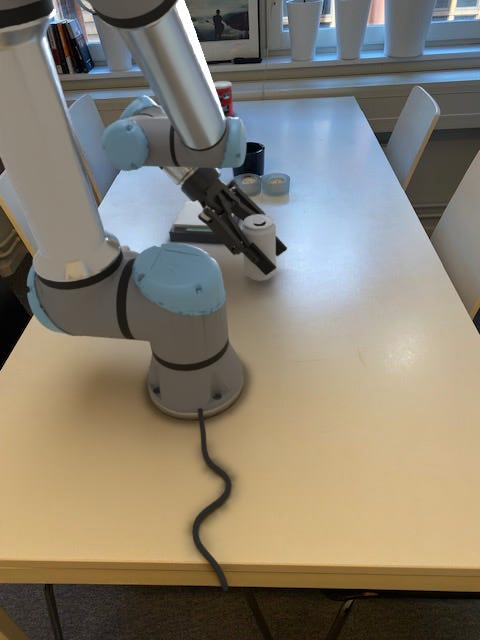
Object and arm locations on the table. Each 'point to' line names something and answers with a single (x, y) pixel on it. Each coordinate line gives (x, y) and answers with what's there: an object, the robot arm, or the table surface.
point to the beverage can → (260, 243)
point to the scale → (193, 226)
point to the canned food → (225, 96)
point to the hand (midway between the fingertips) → (276, 261)
